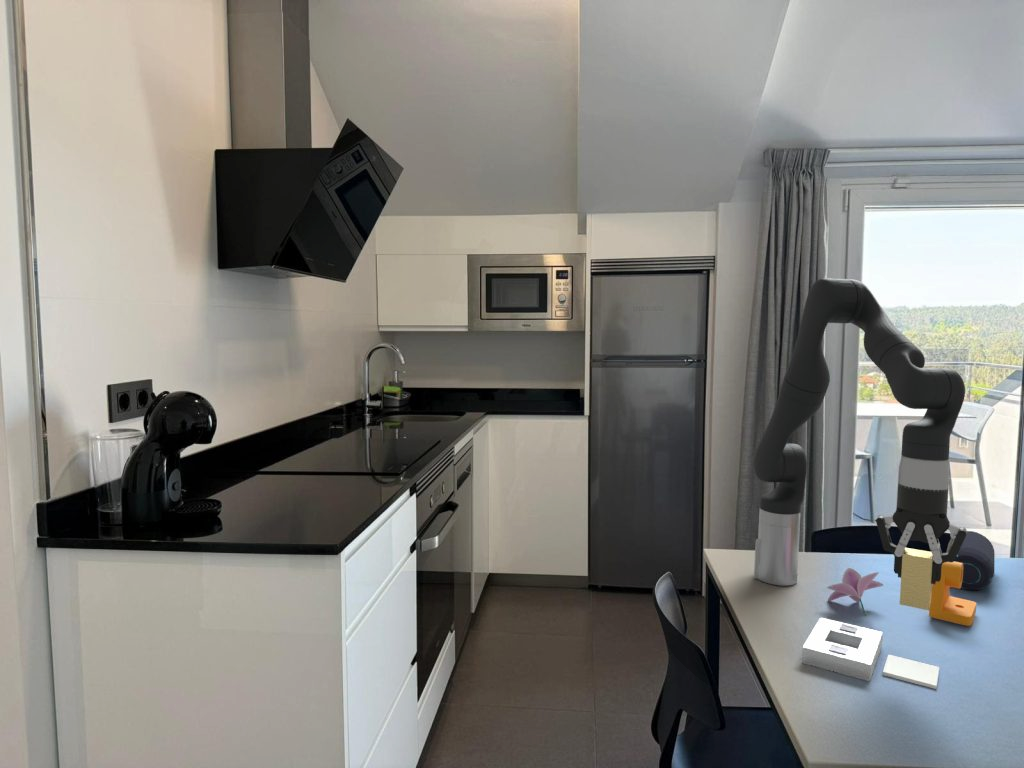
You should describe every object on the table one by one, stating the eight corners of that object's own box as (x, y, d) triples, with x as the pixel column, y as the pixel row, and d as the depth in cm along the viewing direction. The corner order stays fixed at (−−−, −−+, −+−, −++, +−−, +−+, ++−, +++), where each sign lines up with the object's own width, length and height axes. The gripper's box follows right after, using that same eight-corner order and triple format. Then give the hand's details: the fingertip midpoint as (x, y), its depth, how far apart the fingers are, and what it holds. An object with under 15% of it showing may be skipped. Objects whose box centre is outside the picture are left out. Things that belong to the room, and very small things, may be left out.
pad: (882, 674, 119) (882, 671, 119) (888, 657, 125) (888, 654, 125) (936, 689, 114) (936, 685, 114) (939, 670, 121) (939, 667, 121)
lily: (892, 613, 148) (877, 569, 152) (895, 610, 138) (879, 563, 142) (833, 621, 152) (820, 578, 156) (833, 619, 142) (819, 573, 146)
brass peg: (899, 604, 118) (902, 553, 118) (902, 596, 122) (905, 547, 121) (929, 610, 116) (932, 559, 115) (930, 602, 119) (934, 552, 119)
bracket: (969, 630, 138) (973, 572, 137) (928, 620, 143) (932, 564, 142) (976, 614, 146) (980, 559, 145) (936, 605, 151) (940, 552, 150)
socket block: (801, 662, 123) (802, 645, 122) (819, 631, 136) (820, 616, 136) (869, 681, 116) (870, 663, 116) (881, 647, 129) (882, 631, 129)
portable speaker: (947, 561, 181) (949, 524, 180) (993, 569, 175) (995, 531, 175) (941, 589, 161) (944, 547, 160) (992, 599, 155) (995, 556, 154)
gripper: (873, 481, 118) (868, 576, 120) (972, 493, 110) (965, 595, 111) (879, 474, 124) (873, 565, 126) (973, 485, 116) (966, 582, 118)
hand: (916, 579), depth 119 cm, fingers closed on brass peg, 4 cm apart
